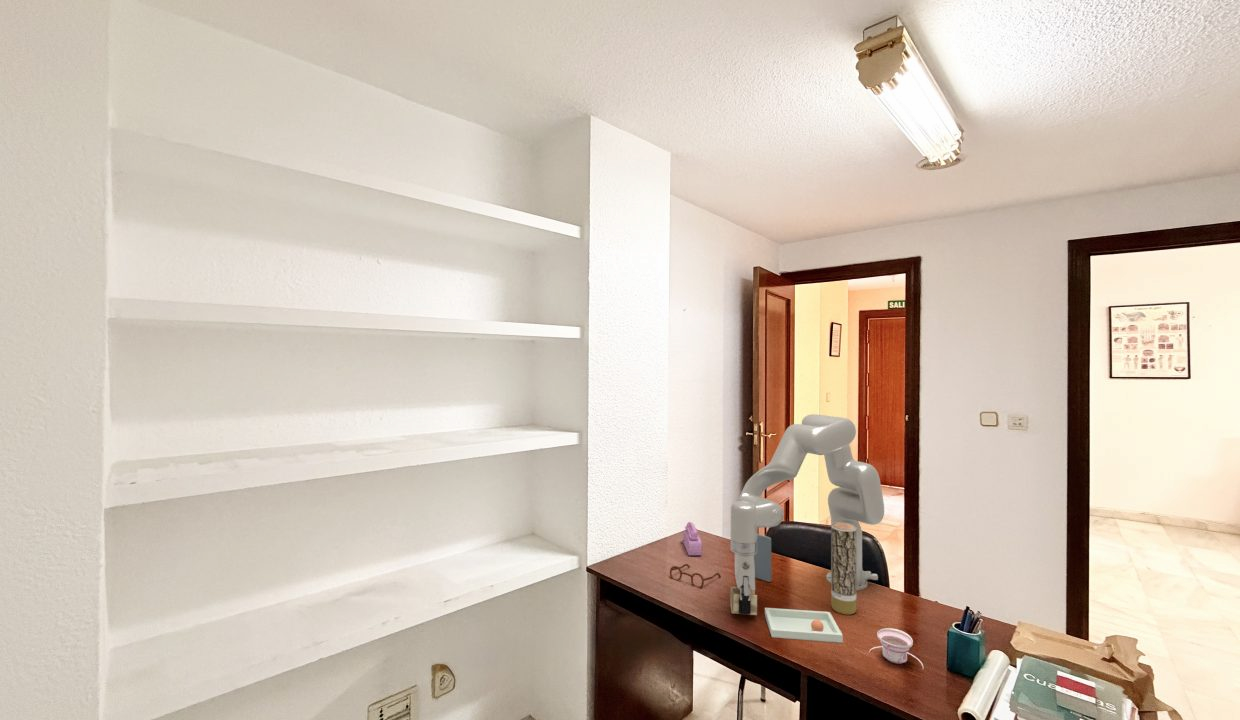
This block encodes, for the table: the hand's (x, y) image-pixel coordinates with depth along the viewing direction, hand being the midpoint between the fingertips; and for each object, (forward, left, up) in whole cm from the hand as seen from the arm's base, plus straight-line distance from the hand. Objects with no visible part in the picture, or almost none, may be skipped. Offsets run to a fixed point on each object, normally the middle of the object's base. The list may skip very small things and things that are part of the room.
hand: (743, 607), depth 143 cm
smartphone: (-8, -26, -3) cm, 27 cm away
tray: (-15, +5, -3) cm, 16 cm away
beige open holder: (0, 0, -1) cm, 1 cm away
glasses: (+13, -24, -3) cm, 28 cm away
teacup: (-35, +17, -3) cm, 39 cm away
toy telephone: (+15, -51, -3) cm, 53 cm away
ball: (-20, +6, -2) cm, 21 cm away
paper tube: (-30, -8, -3) cm, 31 cm away
